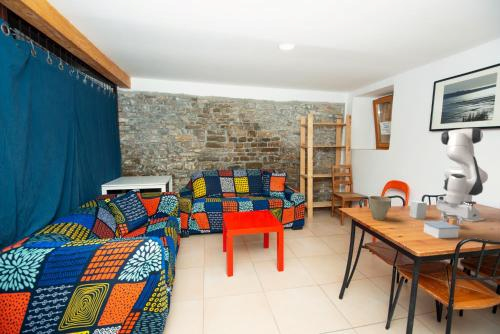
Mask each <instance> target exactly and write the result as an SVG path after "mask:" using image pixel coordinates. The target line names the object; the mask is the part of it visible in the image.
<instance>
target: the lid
mask: <svg viewBox="0 0 500 334" xmlns="http://www.w3.org/2000/svg"><path fill="white" fill-rule="evenodd" d="M424 223H425V224H428V225H430V226H432V227H435V228H437V229H457V228H459V229H461V226H460V225H455V224H458V219H457V220H456V219H449V223H448V222H445V221H440V220H432V221H431V220H430V221H423V224H424Z"/></svg>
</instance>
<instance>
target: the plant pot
mask: <svg viewBox="0 0 500 334" xmlns="http://www.w3.org/2000/svg"><path fill="white" fill-rule="evenodd" d="M391 203H392V199H391V197H390V198H389V197H386V196H382V195H369V196H368V204H369V205H368V206H369V209H370V214H371V216H372V218H373V220H376V221H383V220H385V219H386V217H387V214H388V212H389V209H390V207H391Z"/></svg>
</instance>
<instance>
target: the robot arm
mask: <svg viewBox="0 0 500 334" xmlns="http://www.w3.org/2000/svg"><path fill="white" fill-rule="evenodd" d="M483 137H484V133H483V131H482V129H481V128H480V127H479V128H478V127H473V128H460V129H459V128H458V129H453V130H446V131H443V132H442V133H441V135H440V141H441V143H442V144H443V145H444V146H445V145H446V156H447V157H448V159H449V160H451V161H453V162H455V163H456V164H457V165H459V166H460V167H458V166H457V167H456V166H452V167H451V166H450V167H447V168H446V169H445V171H444V177H445V179H444V180H443V181H444V184H443V188H442V189H443V190H445V191H446V195H439V196H437V201H436V205H435V206H436V210H437V211H440V212H442V215H443V218H444V219H447V217H448V216H446V212H447V213H450V214H453V215H456V216H458V218H460V219H458V220H457V224H460V225H463V222H464V221H467V222H471V223H474V222H479V221H481V222H482V221H485V218H483V217H482V216H481V212H480V210H479V209H477V208H476V207H475V206H474V205H477V201H474V200H473V196H478V195H480V194H482V193H483V191H484V186H483V184H485V183H486V182H487V181H488V178H489V175H488V173H487V171H485V170H483V169H482V168H481V167H480V166H479V164H478V162H477V158H476V156H475V146H474V144H478V143H480V142H481V141H482V140H483Z"/></svg>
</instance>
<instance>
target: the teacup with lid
mask: <svg viewBox="0 0 500 334" xmlns="http://www.w3.org/2000/svg"><path fill="white" fill-rule="evenodd" d="M446 216H448V217H447V219H444V218H443V215H442V211H440V220H439V221H445V222H448V223H449V219H456V220H457V221H458V220H459V219H460V218H458V216H456V215H453V214H450V213H447V212H446ZM455 225H456V226H460V225H461V224H458V223H457V224H455Z"/></svg>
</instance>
